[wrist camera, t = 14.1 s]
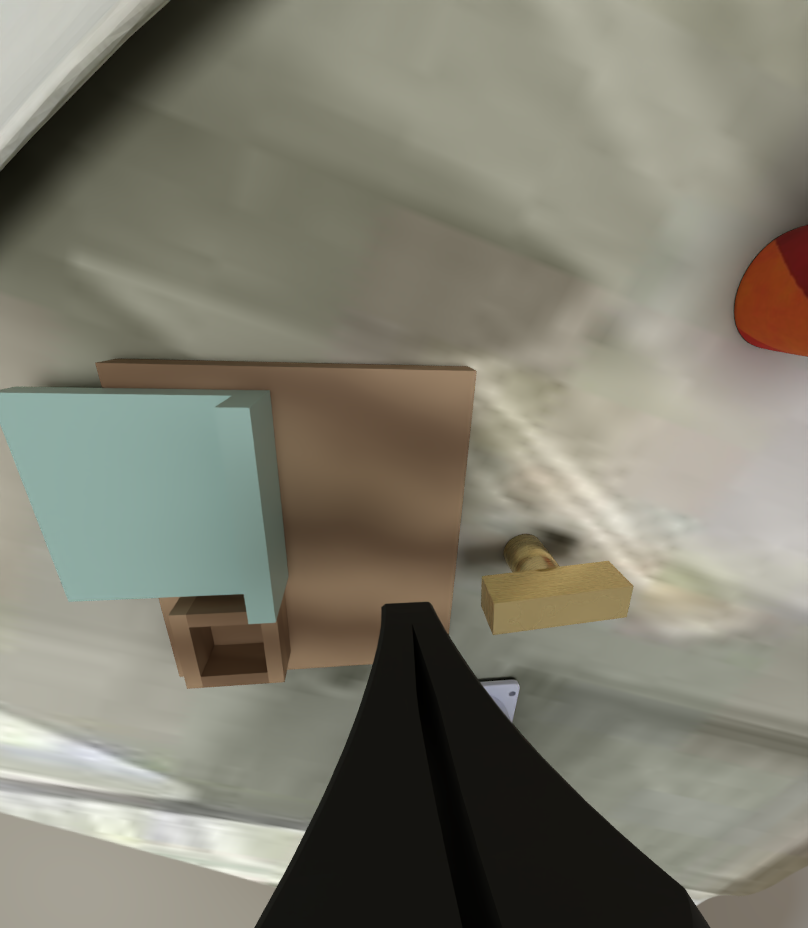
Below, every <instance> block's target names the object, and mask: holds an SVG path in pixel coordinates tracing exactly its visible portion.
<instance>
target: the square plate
mask: <svg viewBox="0 0 808 928" xmlns="http://www.w3.org/2000/svg"><path fill="white" fill-rule="evenodd" d="M169 1H171V0H0V171H1V170H2V169H3V168H4V167H5V165H6V164H7V163H8V162H9V161H10V160H11V159H12V158H13V157H14V156H15V155H16V154H17V153H18V151H19V150H20V149H21V148H22V147H23V146H24V145H25V144H26V143H27V142H28V141H29V140H30V139H31V137H32V136H33V135H34V134H35V133H36V132H37V131H38V130H39V129H40V128H41V127H42V126H43V125H44V124H45V123H46V122H47V121H48V120H49V119H50V118H51V117H52V116H53V115H54V114H55V113H56V112H57V111H58V110H59V109H60V108H61V107H62V106H63V105H64V104H65V103H66V102H67V101H68V100H69V99H70V98H71V97H72V95H73V94H74V93H75V92H76V91H77V90H78V89H79V88H80V87H81V86H82V85H83V84H84V83H85V82H86V81H87V80H88V79H89V78H90V77H91V76H92V75H93V74H94V73H95V72H96V71H97V70H98V69H99V68H100V67H101V66H102V65H103V64H104V63H105V62H106V61H107V60H108V59H109V58H110V57H111V56H112V55H113V54H114V53H115V52H116V51H117V49H118V48H119V47H120V46H121V45H122V44H123V43H124V42H125V41H126V40H127V39H128V38H129V37H131V36H132V35H133V34H134V33H135V32H136V31H137V30H138V29H139V28H141V27H142V26H143V25H144V24H145V23H146V22H147V21H148V20H149V19H151V18H152V17H153V16H154V15H155V14H156V13H157V12H158V11H159V10H161V9H162V8H163V7H164V6H165V5H166V4H167V3H168V2H169Z"/></svg>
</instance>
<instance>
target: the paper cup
mask: <svg viewBox="0 0 808 928" xmlns="http://www.w3.org/2000/svg"><path fill="white" fill-rule="evenodd" d="M734 315H735V322H736V326H737V329H738V331H739V333H740V334H741V336H742V337H743V338H744V339H745V340H746V341H747V342H748V343H750V344H752V345H754V346H757V347H760V348H764V349H769V350H773V351H779V352H784V353H790V354H796V355H801V356H808V225H806V226H802V227H799V228H796V229H794V230H791V231H789V232H786V233H784V234H782V235H781V236H779V237H778V238H776V239H775V240H773V241H772V242H771V243H769V244H768V245H767V246H766V247H765V248H764V249H763V250H762V251H761V252H760V253H759V254H758V255H757V256H756V258H755V259H754V260H753V261H752V263H751V264H750V266H749V267H748V269H747V271H746V272H745V274H744V276H743V278H742V280H741V283H740V285H739V288H738V291H737V295H736V299H735V307H734Z"/></svg>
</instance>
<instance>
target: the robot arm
mask: <svg viewBox="0 0 808 928" xmlns="http://www.w3.org/2000/svg"><path fill="white" fill-rule="evenodd" d="M519 689H520V686H519V683H518V682H517V681H516V680H499V681H486V682H479V680H478V679H477V677H476V676H475V675H474V673H473V672H472V670H471V669H470V667H469V666H468V664H467V663H466V661H465V660H464V658H463V657H462V655H461V654H460V652H459V651H458V649H457V648H456V646H455V645H454V643H453V642H452V640H451V638H450V637H449V635H448V633H447V632H446V630H445V628H444V626H443V625H442V623H441V621H440V619H439V617H438V616H437V614H436V612H435V610H434V608H433V606H432V604H431V603H430V602H409V603H388V604H384V605H383V606H382V607H381V628H380V634H379V639H378V645H377V649H376V653H375V657H374V661H373V665H372V669H371V673H370V676H369V679H368V683H367V686H366V689H365V692H364V695H363V698H362V701H361V704H360V707H359V710H358V713H357V716H356V719H355V721H354V724H353V727H352V729H351V732H350V734H349V737H348V739H347V742H346V745H345V747H344V750H343V752H342V754H341V757H340V759H339V761H338V764H337V766H336V768H335V770H334V773H333V775H332V777H331V780H330V782H329V784H328V786H327V789H326V791H325V793H324V795H323V797H322V799H321V802H320V804H319V806H318V808H317V810H316V812H315V814H314V816H313V818H312V820H311V822H310V824H309V826H308V828H307V830H306V832H305V834H304V836H303V838H302V840H301V842H300V844H299V846H298V848H297V850H296V852H295V854H294V856H293V858H292V860H291V862H290V864H289V866H288V867H287V869H286V871H285V873H284V875H283V877H282V879H281V880H280V882H279V884H278V886H277V888H276V890H275V891H274V893H273V895H272V897H271V899H270V901H269V902H268V904H267V906H266V908H265V909H264V911H263V913H262V915H261V917H260V919H259V920H258V922H257V924H256V926H255V928H710V927H709V925H708V923H707V922H706V920H705V919H704V917H703V916H702V914H701V913H700V911H699V910H698V908H697V907H696V905H695V904H694V902H693V901H692V899H691V898H690V896H689V894H688V893H687V891H686V890H685V888H684V887H683V886H681V885H680V884H679V883H678V882H677V881H675V880H674V879H673V878H672V877H671V876H669V875H668V874H667V873H666V872H665V871H663V870H662V869H661V868H660V867H659V866H658V865H656V864H655V863H654V862H653V861H652V860H650V859H649V858H648V857H647V856H646V855H645V854H644V853H642V852H641V851H640V850H639V849H638V848H637V847H636V846H634V845H633V844H632V843H631V842H630V841H629V840H628V839H627V838H625V837H624V836H623V835H622V834H621V833H620V832H619V831H618V830H616V829H615V828H614V827H613V826H612V825H611V824H610V823H609V822H608V821H607V820H606V819H605V818H604V817H602V816H601V815H600V814H599V813H598V812H597V811H596V810H595V809H594V808H593V807H592V806H591V805H590V804H588V803H587V802H586V801H585V800H584V799H583V798H582V797H581V796H580V795H579V794H578V793H577V792H576V791H575V790H574V789H573V788H572V787H571V786H570V785H569V784H568V783H567V782H566V781H565V780H564V779H563V778H562V777H561V776H560V775H559V774H558V773H557V772H556V771H555V770H554V769H553V768H552V766H551V765H550V764H549V763H548V762H547V761H546V760H545V759H544V758H543V757H542V756H541V755H540V754H539V753H538V752H537V751H536V750H535V748H534V747H533V746H532V745H531V744H530V743H529V742H528V741H527V740H526V739H525V737H524V736H523V735H522V734H521V733H520V732H519V730H518V729H517V728H516V727H515V726H514V725H513V723H512V721H513V716H514V712H515V707H516V703H517V698H518V693H519Z"/></svg>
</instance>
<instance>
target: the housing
mask: <svg viewBox="0 0 808 928" xmlns="http://www.w3.org/2000/svg"><path fill="white" fill-rule="evenodd" d="M95 364H96V367H97V371H98V375H99V378H100V382H101V386H102V388H141V389H210V390H270V397H271V407H272V417H273V427H274V437H275V447H276V457H277V467H278V477H279V487H280V497H281V507H282V517H283V527H284V537H285V547H286V557H287V567H288V580H287V584H286V588H285V591H284V595H283V598H282V602H281V606H280V609H279V613H278V616H277V620H276V623H260V624H248V618H247V612H246V605H245V599H244V594H233V595H210V596H187V597H164V598H159V601H160V605H161V609H162V613H163V616H164V620H165V624H166V628H167V631H168V635H169V639H170V642H171V646H172V650H173V654H174V657H175V661H176V665H177V668H178V672H179V676H180V677H182V676H184V678H185V682H186V686H187V689H190V688H204V687H219V686H233V685H248V684H262V683H277V682H285V677H286V672H287V670H289V669H304V668H319V667H335V666H350V665H365V664H373V661H374V657H375V653H376V649H377V645H378V639H379V634H380V628H381V607H382V606H383V605H384V604H388V603H409V602H430V603H431V604H432V606H433V608H434V610H435V612H436V614H437V616H438V617H439V619H440V621H441V623H442V625H443V626H444V628H445V630H446V632H447V633H448V635H449V626H450V616H451V607H452V597H453V588H454V579H455V569H456V560H457V550H458V541H459V532H460V522H461V513H462V503H463V494H464V485H465V475H466V466H467V456H468V447H469V438H470V428H471V419H472V410H473V400H474V391H475V381H476V372H477V371H476V370H474V369H472V368H470V367H464V366H420V365H376V364H332V363H288V362H244V361H200V360H156V359H113V360H108V361H102V362H97V363H95Z"/></svg>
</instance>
